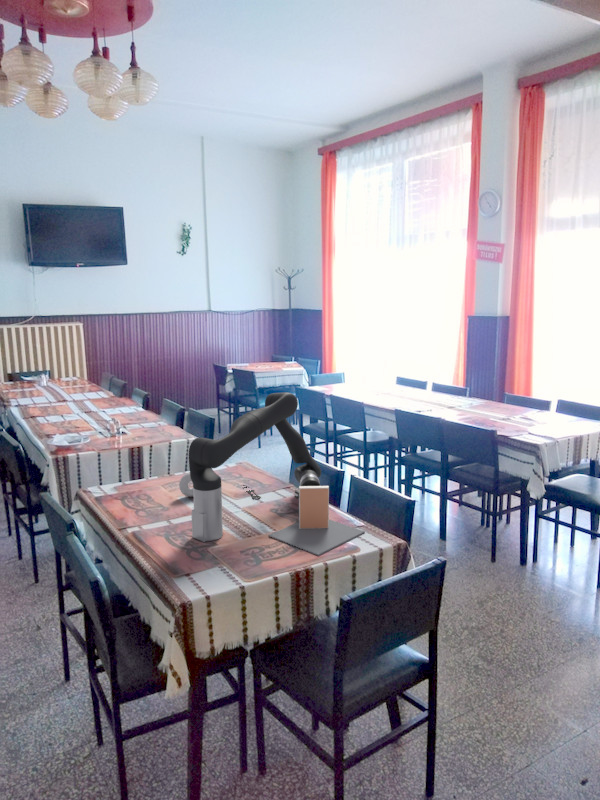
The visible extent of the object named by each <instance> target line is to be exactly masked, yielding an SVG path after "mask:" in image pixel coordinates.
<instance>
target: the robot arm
mask: <svg viewBox="0 0 600 800" xmlns="http://www.w3.org/2000/svg"><path fill="white" fill-rule="evenodd" d="M298 406H299V401H298V398H297V397H296V395H295V394H294V393H292V392H273V393H269V394H267V396H266V397H265V399H264V406H263V407H260V408H257V409H253V410H249V411H247V412H246V413H244V414H242V415H241V416H240V417H237V418H236V419H235V420H234V421H233V422H232V424H231V427H230V430H229V433H228V434H226V435H225V436H223V437H221V438H218V439H213V438H207V437H197V438H195V439H193V440H192V442H190V445H189V447H188V467H189V472H190V477H191V480H192V481H191V482H192V488H193V509H191V510H190V511H191V513H190V514H191V531H192V532H191V534H192V535H191V536H192V538H194V539H195V540H199V541H200V542H203V543H206V542H213V541H216V540H217V541H218V540H219V539H221V538H222V537H223V534H224V532H223V528H224V527H223V500H222V499H223V498H222V497H223V494H222V489H223V488H222V478H221V476H220V475H219V474H217V473H216V472H215V471H214V470H213V469H217V468H219V467H221V466H222V465H223V464H224V463H225V462H227V461H228V460H229V459H230V458H231V457H233V455H235V454H236V453H237V452H238V451H239V450H241V449H242V448H244V447H245V446H247V444H249V443H251V442H252V441H253V440H255V439H257V438H259V437H260V436H261V435H262V434H263V433H265V432H267V430H270V429H271V428H272V427H274V426H275V427H276V428H275V429H277V431H278V433H279V434H280V436H281V438H282V439H283V441H284V443H285V445H286V446H287V449H288V451H289V454H290V457H291V459H292V461H293V462H294V463H295V464H301V465H299V466H297V467H295V469H294V472H293V475H294V477H295V479H296V481H297V483H298V484H299V486H322V485H321V482H320V479H319V478H320V477H321V475H322V469H321V466H320V465H319V464H318V462H317V461H316V460H315V458H313V456H312V455H311V452H310V451H309V448H308V446H307V444H306V441H305V439H304V437H303V436H302V435H301V434H300V432H298V431H297V430H296V429H295V428H294V427H293V426H292V424H290V422H289V421H288V420H287V418H290V417H292V416H293V415H294V414H295V413H296V411H297V409H298ZM294 498H295V499H296V500H297V499H298V500H299V489H295V490H294Z"/></svg>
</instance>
